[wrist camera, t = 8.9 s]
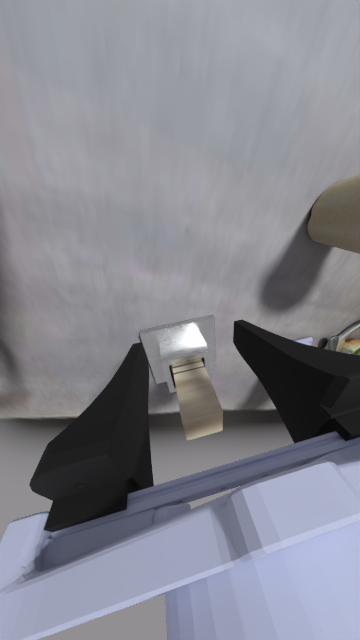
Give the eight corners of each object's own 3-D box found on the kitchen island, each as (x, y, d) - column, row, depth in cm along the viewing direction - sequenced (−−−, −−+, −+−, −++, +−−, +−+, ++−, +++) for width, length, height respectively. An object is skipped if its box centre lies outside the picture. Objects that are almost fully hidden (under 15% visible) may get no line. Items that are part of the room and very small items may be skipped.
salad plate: (289, 359, 33) (309, 377, 29) (371, 293, 28) (408, 304, 24) (323, 385, 42) (342, 401, 38) (391, 338, 36) (421, 351, 33)
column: (200, 370, 25) (222, 430, 17) (174, 376, 24) (186, 440, 17) (198, 350, 22) (223, 410, 15) (170, 357, 22) (181, 421, 15)
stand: (214, 365, 29) (225, 388, 25) (156, 379, 28) (157, 405, 24) (212, 314, 24) (226, 333, 19) (139, 330, 23) (138, 353, 18)
